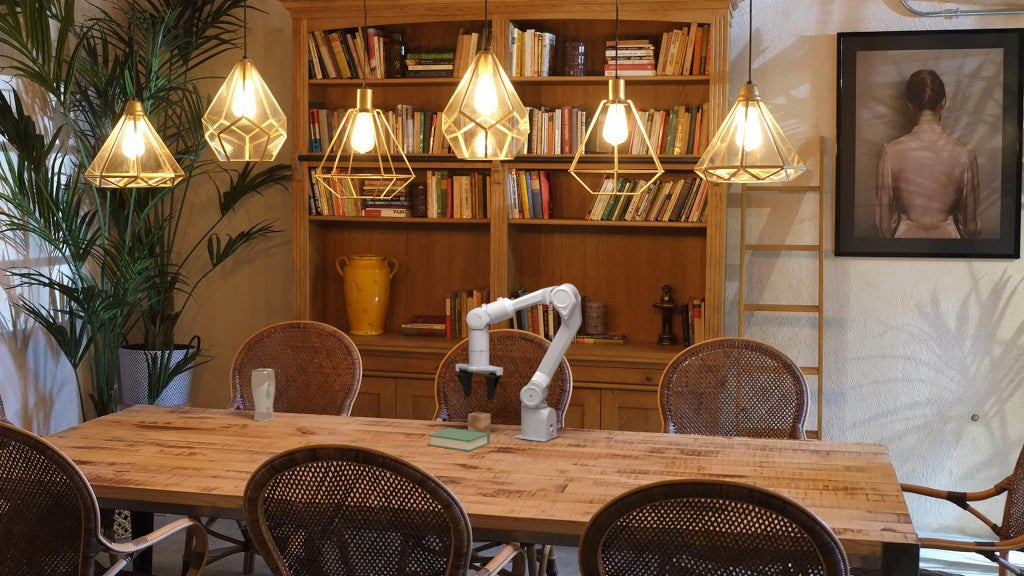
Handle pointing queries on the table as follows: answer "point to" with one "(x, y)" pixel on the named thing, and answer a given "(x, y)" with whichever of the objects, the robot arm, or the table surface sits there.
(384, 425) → the table surface
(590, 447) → the table surface
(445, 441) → the green book
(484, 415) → the brown wooden block
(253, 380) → the beer glass
